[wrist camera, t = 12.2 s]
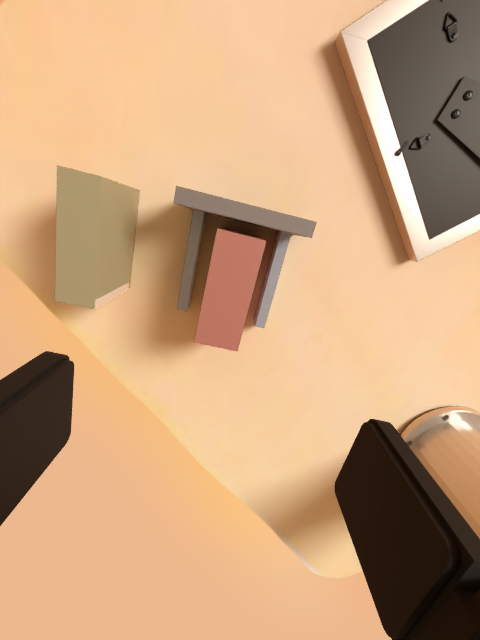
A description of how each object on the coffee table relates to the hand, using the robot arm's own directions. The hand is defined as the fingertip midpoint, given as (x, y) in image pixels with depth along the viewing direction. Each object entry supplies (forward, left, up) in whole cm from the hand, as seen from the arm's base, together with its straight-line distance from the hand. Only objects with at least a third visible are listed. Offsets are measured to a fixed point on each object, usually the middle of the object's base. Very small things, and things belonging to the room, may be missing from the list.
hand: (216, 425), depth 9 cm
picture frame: (-17, -20, -23) cm, 35 cm away
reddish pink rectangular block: (0, -1, -23) cm, 23 cm away
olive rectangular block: (+12, -2, -22) cm, 26 cm away
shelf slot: (0, -2, -22) cm, 22 cm away
